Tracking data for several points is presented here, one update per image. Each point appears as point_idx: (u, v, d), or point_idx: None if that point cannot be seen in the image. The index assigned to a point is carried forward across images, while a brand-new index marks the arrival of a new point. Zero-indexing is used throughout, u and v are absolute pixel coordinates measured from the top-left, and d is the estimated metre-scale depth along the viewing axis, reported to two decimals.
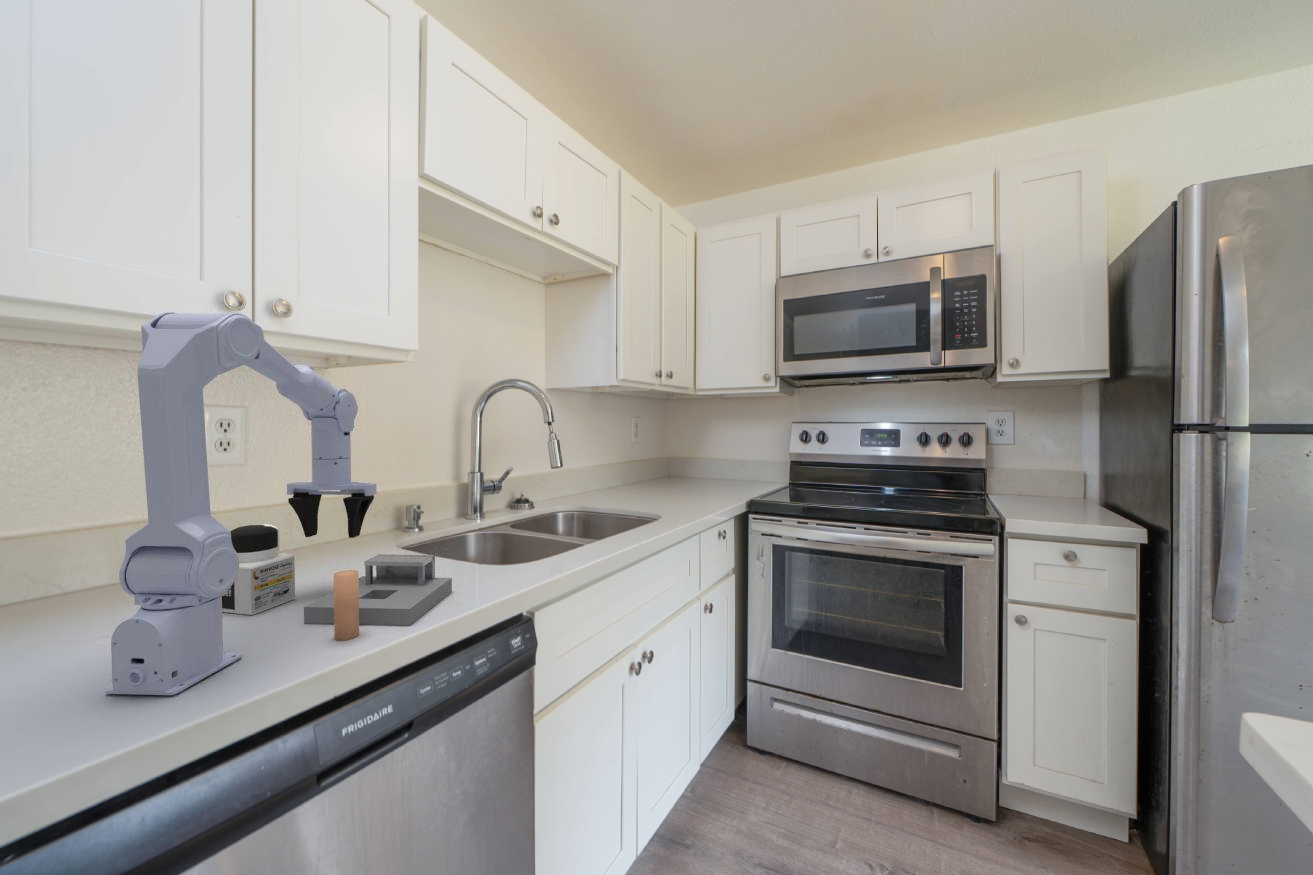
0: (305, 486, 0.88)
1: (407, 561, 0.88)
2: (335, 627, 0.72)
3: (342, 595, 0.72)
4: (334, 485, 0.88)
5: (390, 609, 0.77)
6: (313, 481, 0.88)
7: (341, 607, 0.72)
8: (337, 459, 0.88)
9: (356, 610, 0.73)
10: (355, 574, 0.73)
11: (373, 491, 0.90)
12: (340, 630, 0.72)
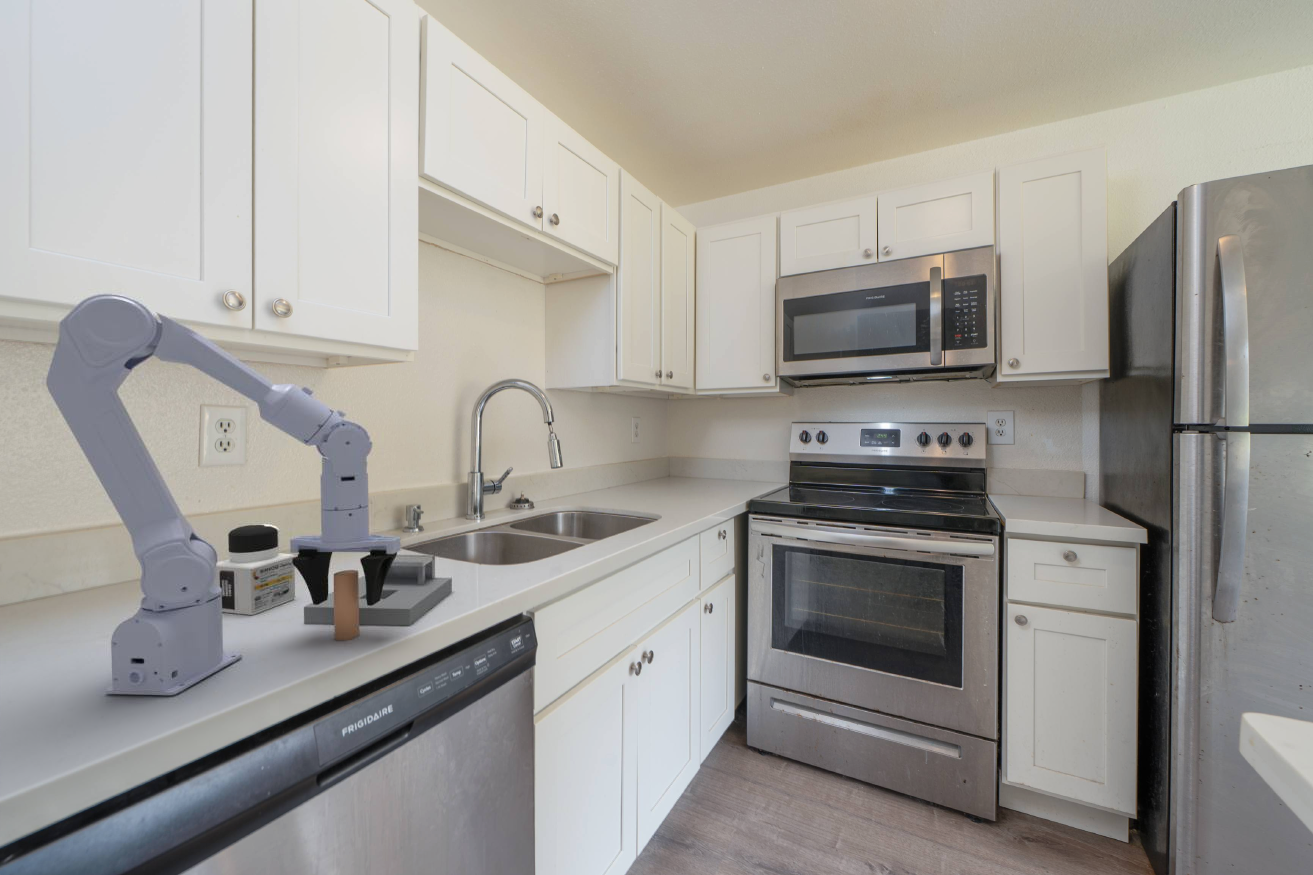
0: (313, 543, 0.71)
1: (407, 561, 0.88)
2: (335, 627, 0.72)
3: (342, 595, 0.72)
4: (349, 542, 0.71)
5: (390, 609, 0.77)
6: (323, 537, 0.71)
7: (341, 607, 0.72)
8: (352, 509, 0.71)
9: (356, 610, 0.73)
10: (355, 574, 0.73)
11: (397, 547, 0.73)
12: (340, 630, 0.72)
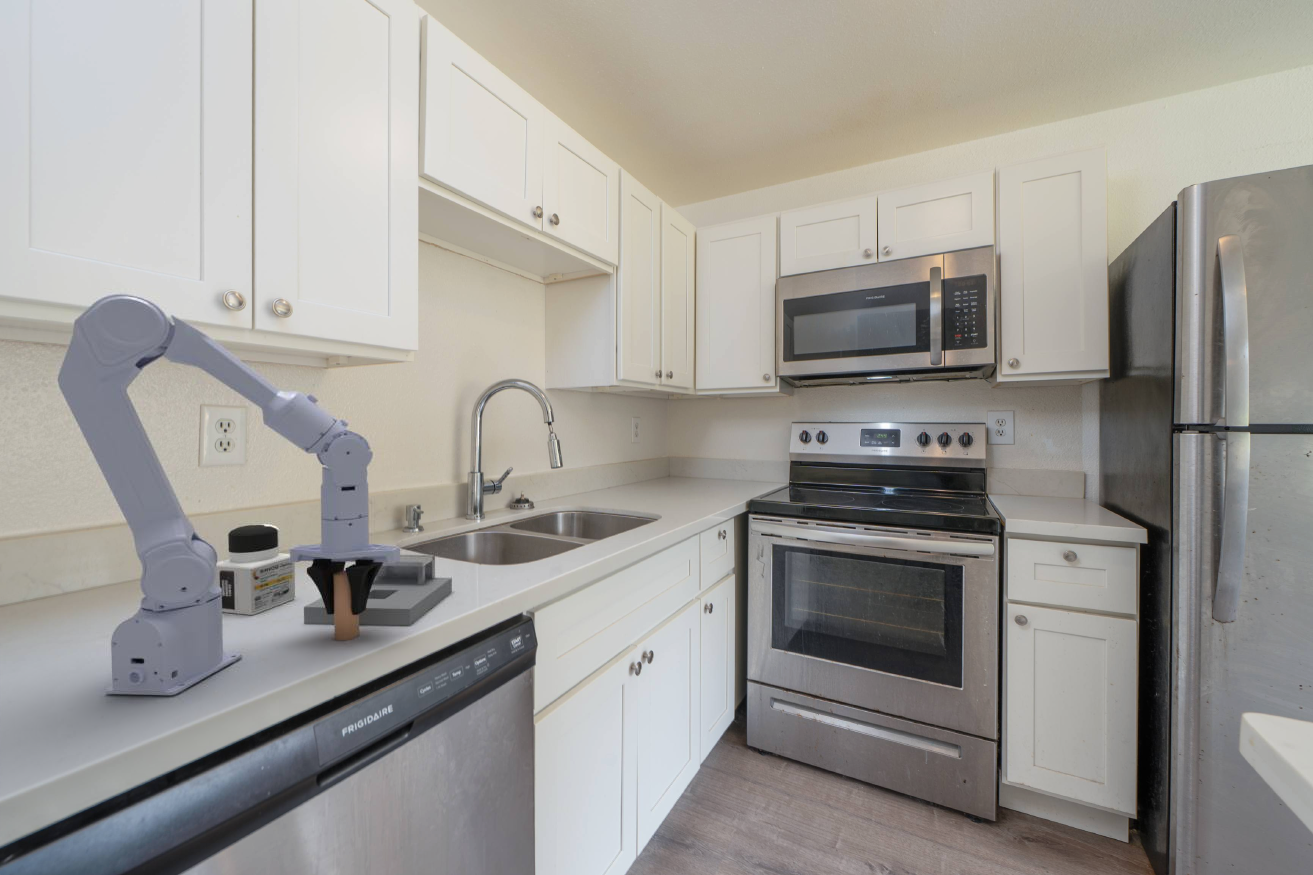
0: (313, 553, 0.71)
1: (407, 561, 0.88)
2: (335, 627, 0.72)
3: (342, 595, 0.72)
4: (349, 552, 0.71)
5: (390, 609, 0.77)
6: (323, 547, 0.71)
7: (341, 607, 0.72)
8: (353, 519, 0.71)
9: None
10: None
11: (396, 557, 0.73)
12: (340, 630, 0.72)
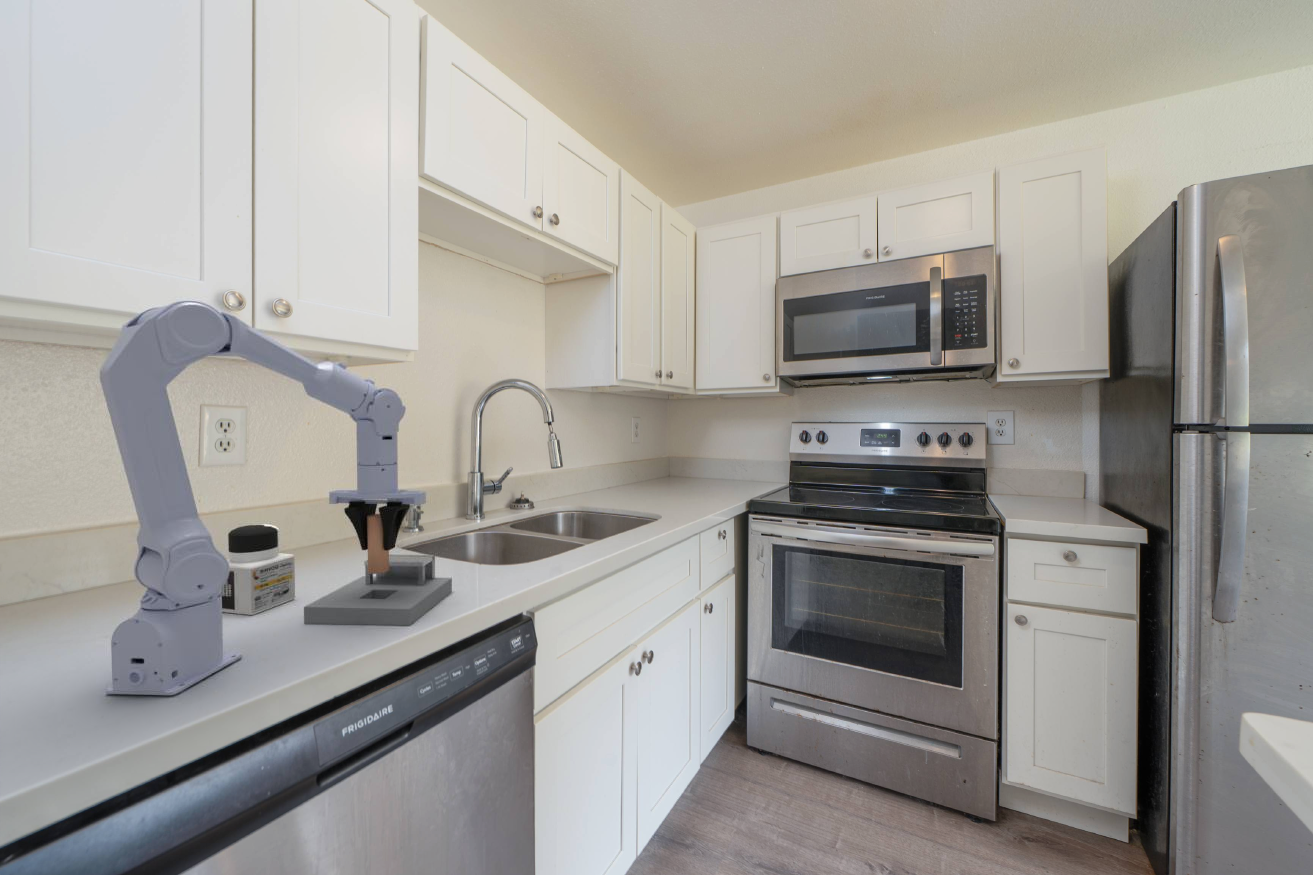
0: (350, 495, 0.81)
1: (407, 561, 0.88)
2: (369, 562, 0.82)
3: (375, 533, 0.82)
4: (382, 493, 0.80)
5: (390, 609, 0.77)
6: (359, 489, 0.81)
7: (374, 544, 0.82)
8: (385, 465, 0.81)
9: None
10: None
11: (423, 500, 0.83)
12: (373, 564, 0.82)
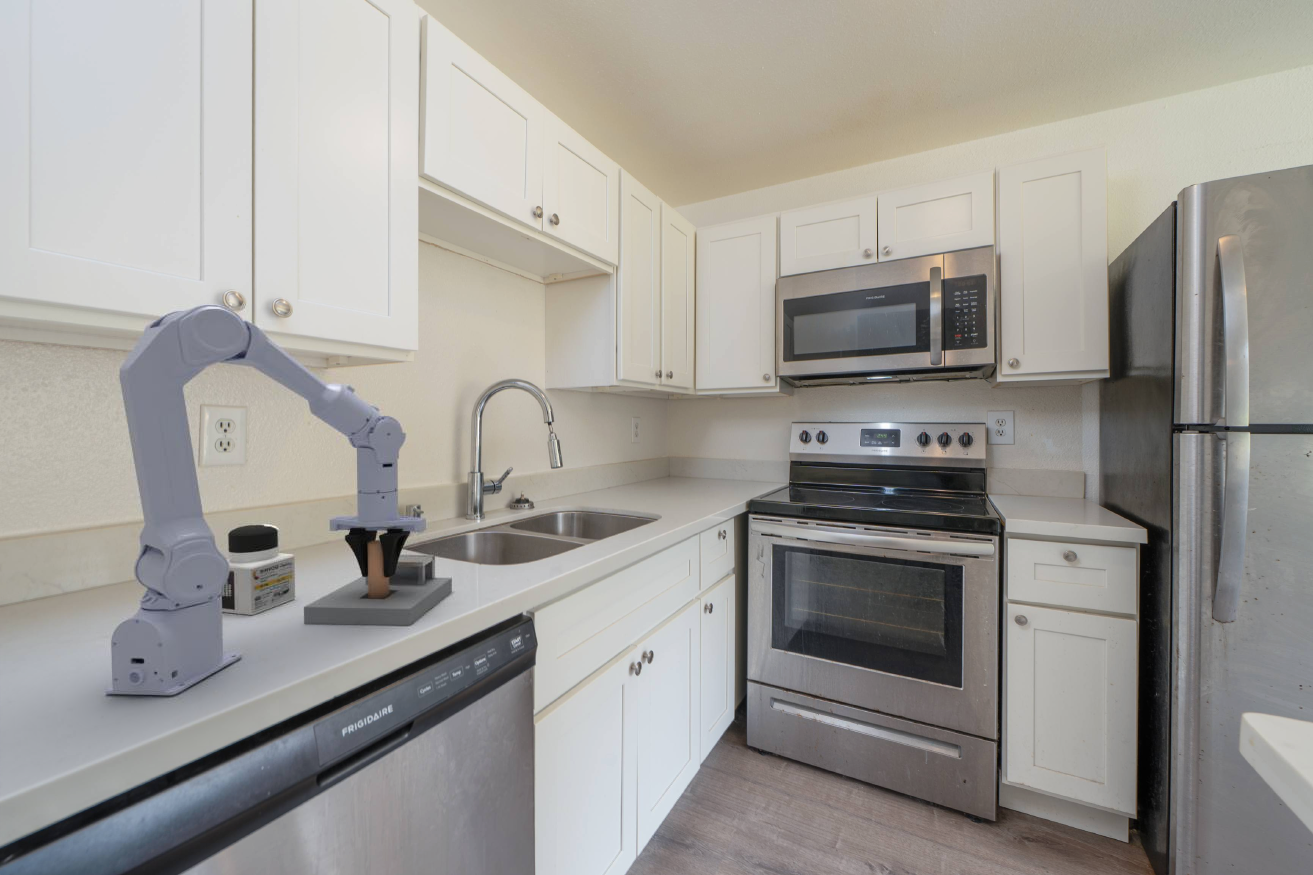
0: (350, 522, 0.81)
1: (407, 561, 0.88)
2: (369, 589, 0.82)
3: (375, 560, 0.82)
4: (382, 521, 0.81)
5: (390, 609, 0.77)
6: (359, 517, 0.81)
7: (374, 571, 0.82)
8: (385, 493, 0.81)
9: None
10: None
11: (423, 526, 0.83)
12: (373, 591, 0.82)
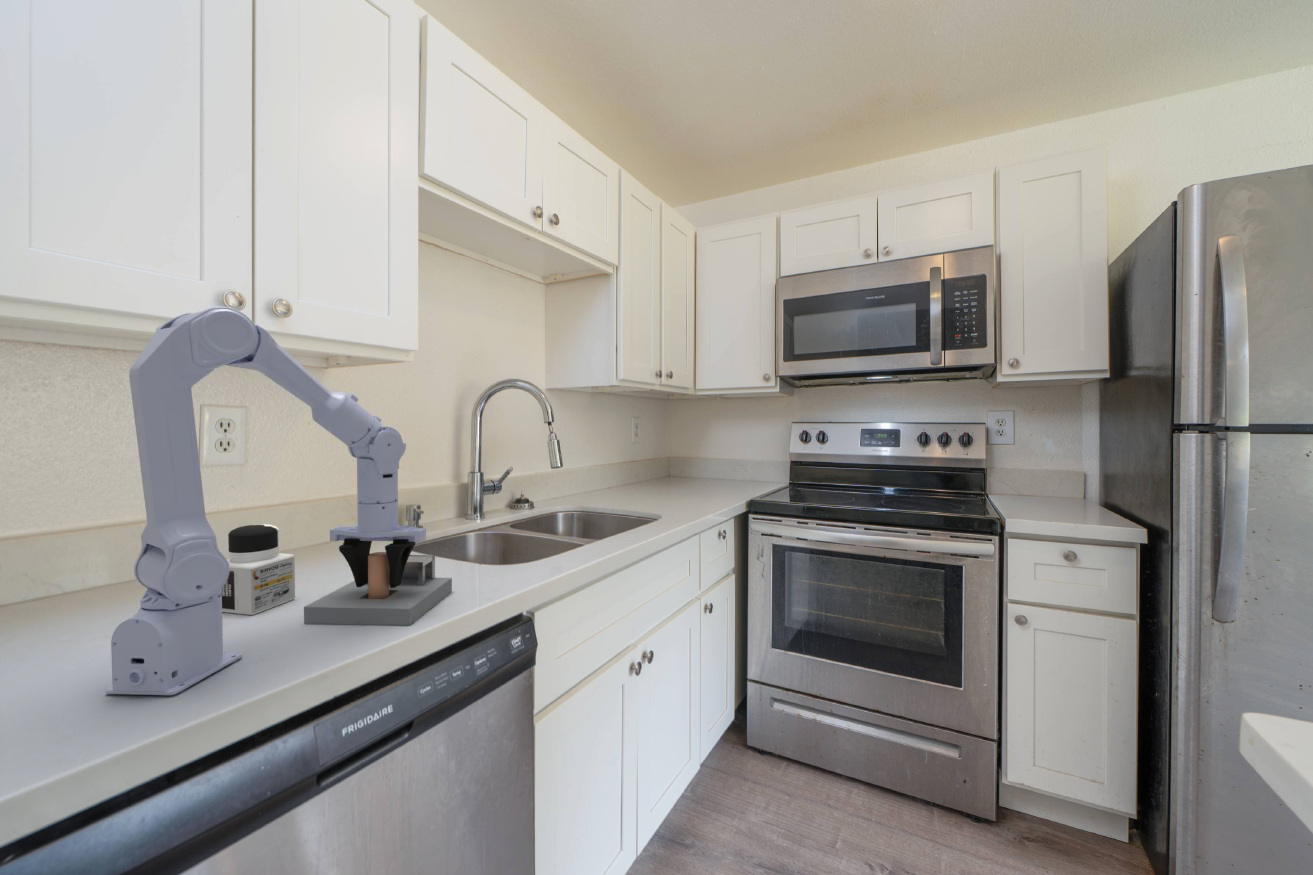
0: (350, 533, 0.81)
1: (407, 561, 0.88)
2: None
3: (375, 573, 0.82)
4: (382, 532, 0.81)
5: (390, 609, 0.77)
6: (359, 527, 0.81)
7: (375, 583, 0.82)
8: (385, 503, 0.81)
9: (387, 587, 0.83)
10: None
11: (423, 537, 0.83)
12: None
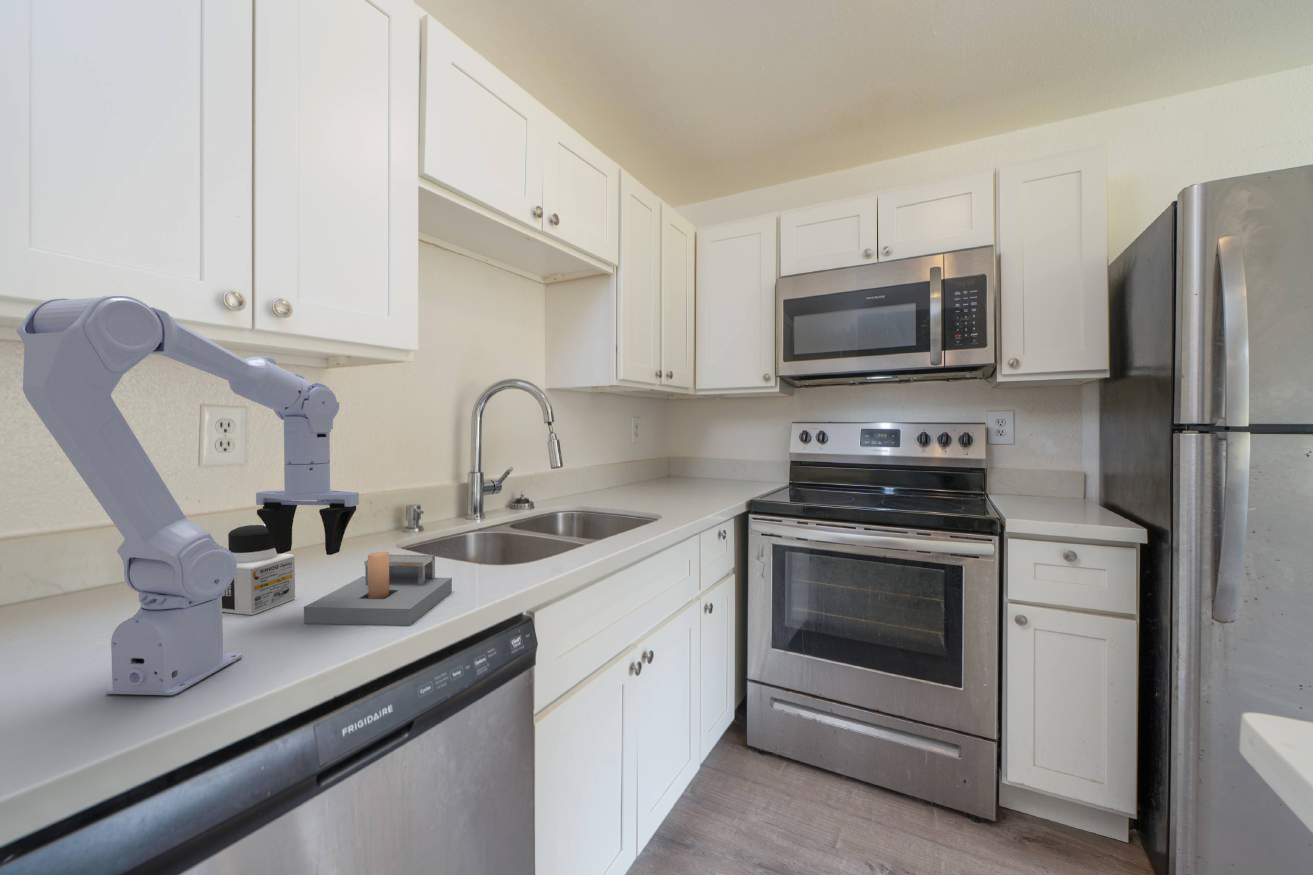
0: (276, 495, 0.76)
1: (407, 561, 0.88)
2: None
3: (375, 573, 0.82)
4: (309, 494, 0.76)
5: (390, 609, 0.77)
6: (285, 490, 0.76)
7: (375, 584, 0.82)
8: (313, 464, 0.76)
9: (387, 587, 0.83)
10: (386, 555, 0.83)
11: (355, 501, 0.78)
12: None
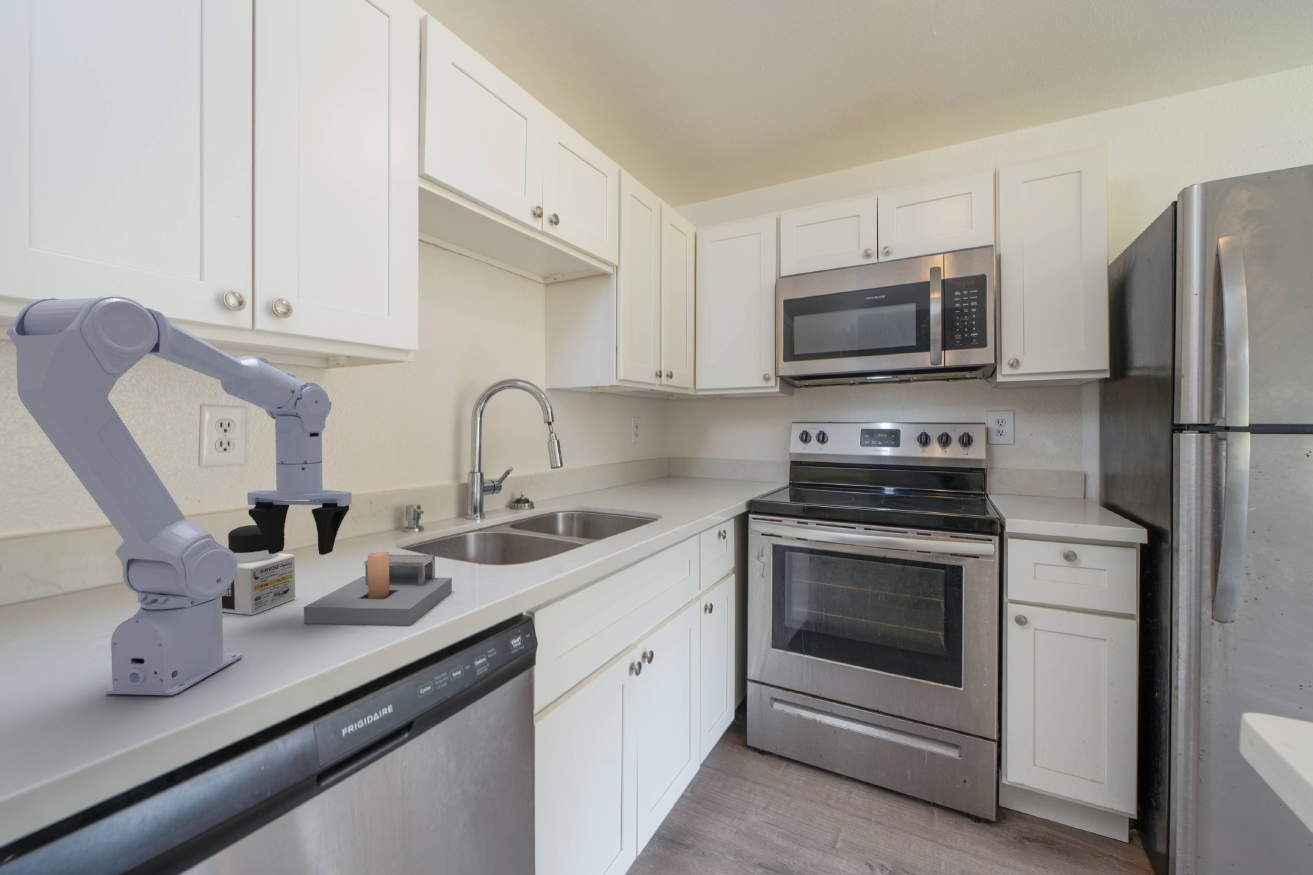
0: (268, 495, 0.76)
1: (407, 561, 0.88)
2: None
3: (375, 573, 0.82)
4: (301, 494, 0.76)
5: (390, 609, 0.77)
6: (277, 489, 0.76)
7: (375, 584, 0.82)
8: (305, 464, 0.76)
9: (387, 587, 0.83)
10: (386, 555, 0.83)
11: (347, 501, 0.78)
12: None
